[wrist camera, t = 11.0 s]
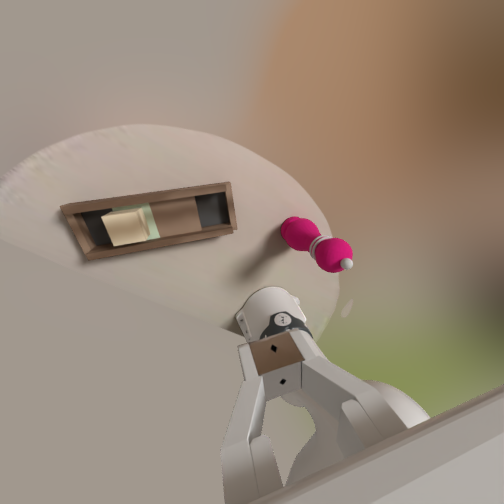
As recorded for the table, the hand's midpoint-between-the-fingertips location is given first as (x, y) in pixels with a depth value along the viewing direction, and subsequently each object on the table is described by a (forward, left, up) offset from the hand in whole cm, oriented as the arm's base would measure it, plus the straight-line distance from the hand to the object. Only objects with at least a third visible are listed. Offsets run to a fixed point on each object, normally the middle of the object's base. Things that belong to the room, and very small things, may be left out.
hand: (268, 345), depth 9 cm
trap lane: (0, +10, -35) cm, 36 cm away
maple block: (0, +15, -33) cm, 36 cm away
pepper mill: (-8, -18, -35) cm, 40 cm away
